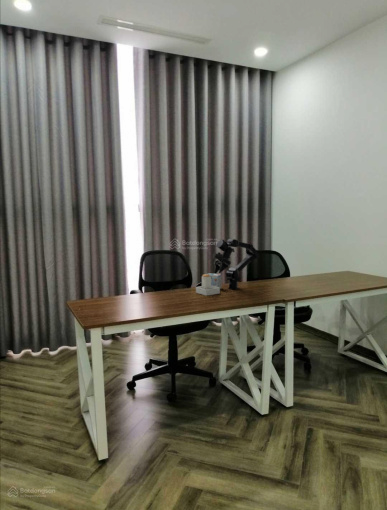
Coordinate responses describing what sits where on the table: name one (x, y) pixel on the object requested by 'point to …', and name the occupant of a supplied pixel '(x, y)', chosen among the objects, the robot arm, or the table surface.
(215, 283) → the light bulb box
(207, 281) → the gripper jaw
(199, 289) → the housing
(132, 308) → the table surface
